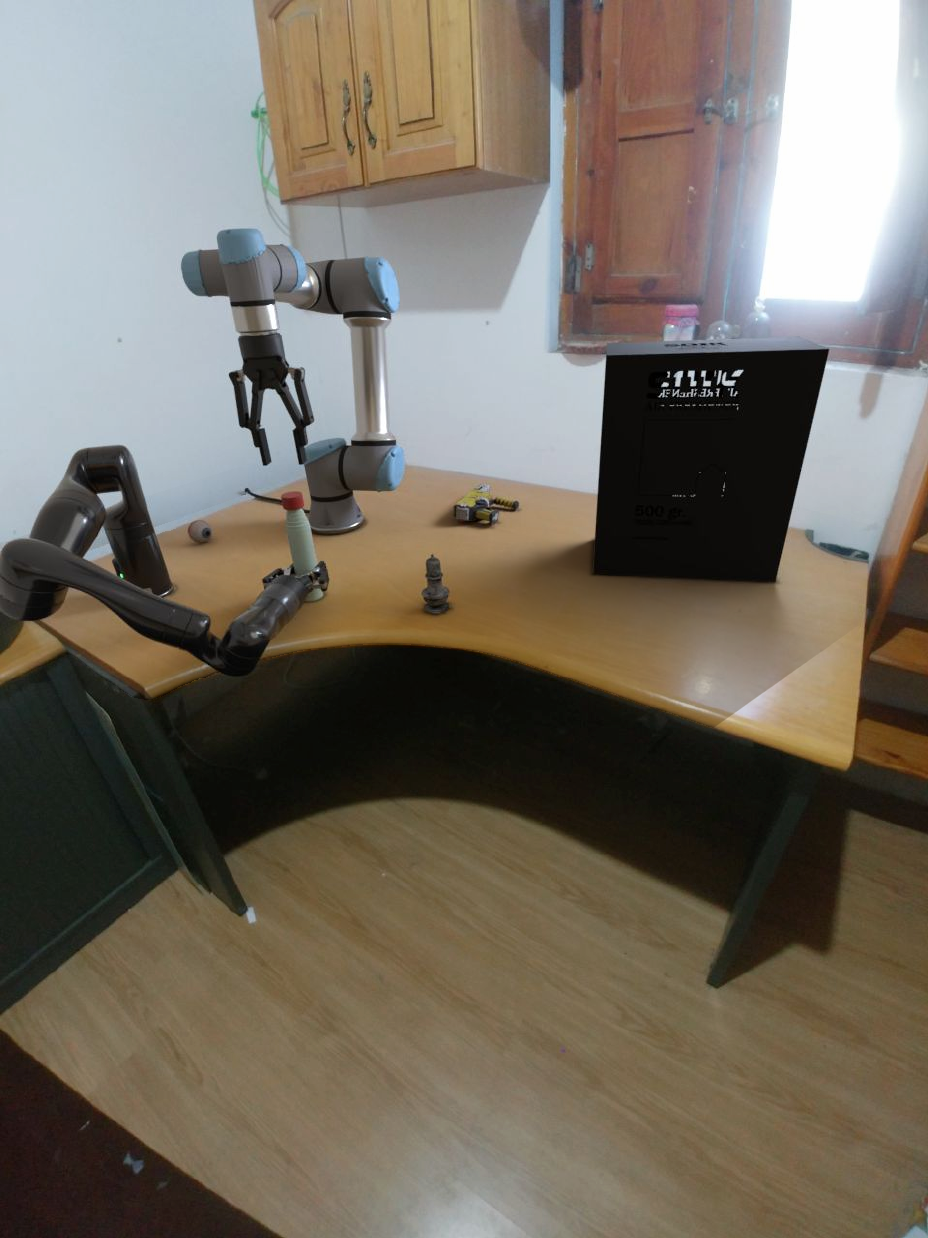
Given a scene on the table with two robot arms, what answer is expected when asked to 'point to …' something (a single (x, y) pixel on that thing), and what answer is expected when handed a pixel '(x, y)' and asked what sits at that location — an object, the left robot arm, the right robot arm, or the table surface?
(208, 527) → the eyeball
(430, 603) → the grey tiered upright piece
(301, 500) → the cap
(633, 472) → the cardboard box
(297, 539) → the bottle
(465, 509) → the toy gun
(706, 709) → the table surface
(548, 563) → the table surface
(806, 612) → the table surface
